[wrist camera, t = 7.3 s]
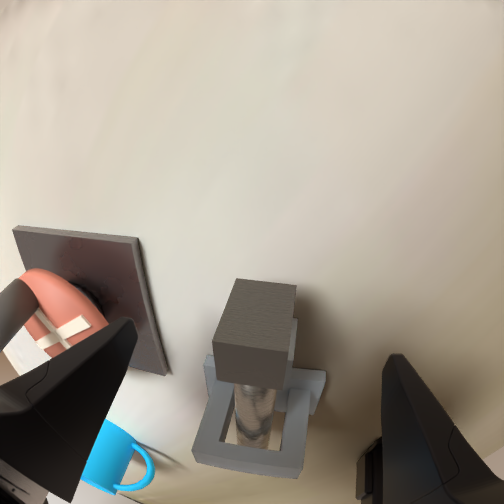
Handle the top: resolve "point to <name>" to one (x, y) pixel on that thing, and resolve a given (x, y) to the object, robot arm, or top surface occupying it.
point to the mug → (114, 460)
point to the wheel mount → (100, 280)
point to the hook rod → (254, 353)
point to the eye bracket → (287, 400)
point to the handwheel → (47, 312)
